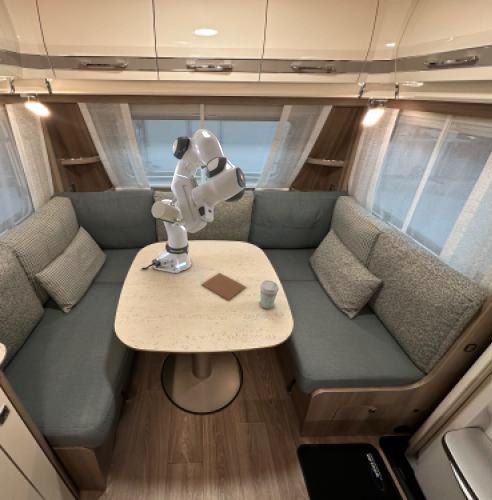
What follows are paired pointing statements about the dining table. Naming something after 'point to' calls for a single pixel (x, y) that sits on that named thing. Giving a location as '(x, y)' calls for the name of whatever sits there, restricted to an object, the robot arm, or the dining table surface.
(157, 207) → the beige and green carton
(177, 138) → the robot arm
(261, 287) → the coffee cup
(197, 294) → the dining table surface
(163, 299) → the dining table surface
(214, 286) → the cork mat
